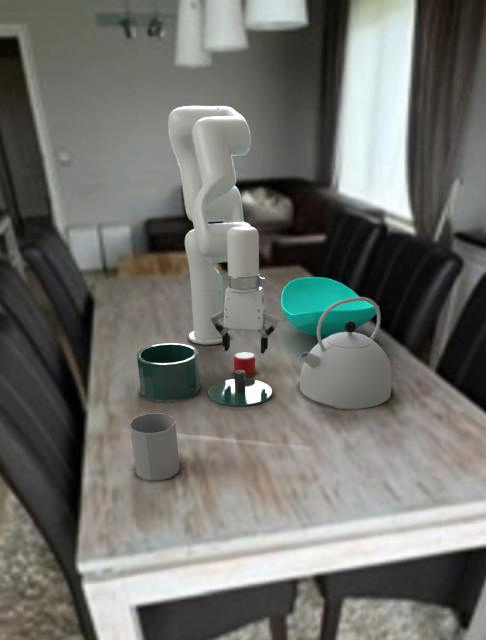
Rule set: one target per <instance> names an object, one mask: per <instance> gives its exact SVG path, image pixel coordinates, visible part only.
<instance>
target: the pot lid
mask: <svg viewBox="0 0 486 640" xmlns="http://www.w3.org/2000/svg"><path fill="white" fill-rule="evenodd" d="M233 372H234V371H233ZM207 394H208V398H209V399H210V400H211V401H212V402H214V403H216V404H219V405H222V406H226V407H235V408H243V407H244V408H247V407H253V406H257V405H261V404H264V403H265V402H267V401H269V399H270V398H271V397H272V396H273V389H272V387H271V386H270V385H268V384H267V383H265V382H263V381H261V380H257V379H252V378H251V379H250V378H246V376H245V371H244V370H236V371H235V372H234V378H232V379H226V380H222V381H219V382H216V383H215V384H213V385H211V386H210V388H209V389H208V393H207Z"/></svg>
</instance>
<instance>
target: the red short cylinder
mask: <svg viewBox="0 0 486 640" xmlns="http://www.w3.org/2000/svg"><path fill="white" fill-rule="evenodd" d="M236 370H244V371H245V377H246V376H247V377H248V376H253V375H254V374H256V354H255V353H252V352H249V351H241V352H237V353H235V354H234V355H233V372H235V371H236Z"/></svg>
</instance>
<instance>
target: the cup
mask: <svg viewBox="0 0 486 640" xmlns="http://www.w3.org/2000/svg"><path fill="white" fill-rule="evenodd" d="M129 427H130V428H129V429H130V437H131V445H132V453H133V459H134V466H135V472H136V475H137V476H138V477H139V478H140V479H142V480H147V481H163V480H168V479H170V478H172V477H173V476H175V475H177V474H178V472H179V470H180V458H179V457H180V456H179V445H178V435H177V424H176V420H175V417H173V416H171V415H170V414H168V413H161V412H149V413H145V414H141V415H139V416H136V417H134V418H133V419H131V421H130V422H129Z"/></svg>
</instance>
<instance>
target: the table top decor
mask: <svg viewBox="0 0 486 640" xmlns="http://www.w3.org/2000/svg"><path fill="white" fill-rule="evenodd" d="M355 297H360V296H359V295H358V294H357V293H356V292H355V291H354V290H353V289H351V288H350V287H348V285H347V286H346V285H345V284H344V283H341V282H340V281H337V280H334V279H332V278H328V277H321V276H307V277H299V278H295V279H293V280H290V281H289V282H288V283H287V284H286V285H285V286H284V287H283V288H282V292H281V295H280V306H281V307H280V308H281V311H282V313H283V315H284V317H286V319H287V320H288V322H289V323H290V324H291V325H292V326H293V327H294V328H296V330H298V331H300V332H301V333H304V334H305V335H308V336H310V337H314V338H317V326H318V322H319V320H320V318H321V316H322V314H323V313H324V312H325V311H326V309H328V308H329V307H330V306H331V305H333V304H335V303H337V302H339V301H342V300H345V299H349V298H355ZM377 306H378V307H379V308H380V306H379V305H377ZM375 316H377V312H376V309H375V307H374V306H373V305H372V304H371V303H369V302H366V301H353V302H348V303H344V304H341V305H339V306H337V307H335V308H333V309H332V310H331V311H330V312H328V314H327V315H326V316H325V317H324V319H323V322H322V324H321V329H320V336H321V340H324V339H325V338H327V337H329V336H330V335H333V334H336V333H341V332H347V331H346V330H345V324H346V323H347V322H348V321H353V322H354V323H355V324H356V329H358V328H360V327H362V326H363V325H365V324H366V323H368V322H369V321H371V320H372V319H373V318H374V317H375Z"/></svg>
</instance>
